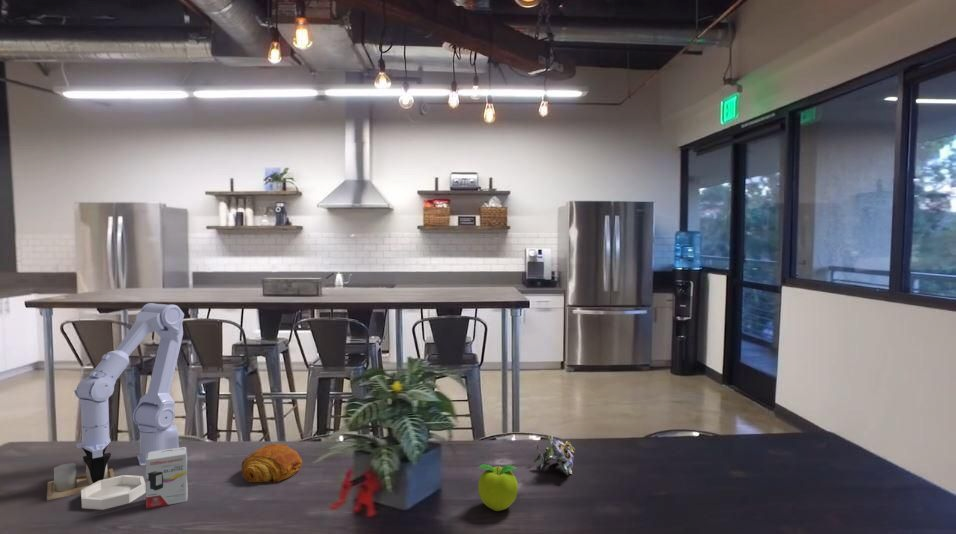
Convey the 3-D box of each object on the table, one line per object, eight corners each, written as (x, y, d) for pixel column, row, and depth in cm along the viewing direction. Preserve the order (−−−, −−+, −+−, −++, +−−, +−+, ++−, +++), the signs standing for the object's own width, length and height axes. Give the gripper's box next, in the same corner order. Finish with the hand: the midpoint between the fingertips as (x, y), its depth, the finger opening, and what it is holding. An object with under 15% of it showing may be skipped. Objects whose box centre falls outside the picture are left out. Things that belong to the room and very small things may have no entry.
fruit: (478, 498, 131) (478, 457, 130) (516, 498, 131) (516, 458, 130) (476, 517, 122) (477, 474, 121) (518, 518, 122) (518, 475, 121)
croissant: (232, 487, 141) (227, 459, 139) (274, 457, 155) (271, 431, 154) (275, 496, 135) (270, 467, 134) (315, 464, 150) (311, 437, 148)
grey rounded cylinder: (107, 475, 141) (106, 455, 141) (108, 481, 138) (107, 461, 137) (86, 480, 138) (85, 459, 138) (86, 486, 135) (86, 465, 135)
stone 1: (76, 482, 137) (75, 461, 137) (77, 488, 134) (76, 467, 133) (54, 487, 134) (53, 466, 134) (54, 493, 131) (53, 472, 131)
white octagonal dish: (141, 481, 139) (141, 471, 139) (147, 499, 129) (147, 489, 129) (80, 494, 131) (80, 484, 131) (82, 516, 121) (82, 504, 121)
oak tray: (112, 471, 144) (112, 468, 144) (115, 486, 136) (115, 482, 136) (47, 485, 136) (47, 481, 136) (46, 502, 128) (46, 497, 128)
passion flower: (568, 493, 145) (577, 469, 138) (528, 483, 146) (535, 459, 139) (571, 457, 154) (579, 432, 146) (533, 448, 155) (540, 423, 147)
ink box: (145, 509, 125) (144, 459, 124) (147, 500, 129) (145, 452, 128) (187, 501, 128) (186, 453, 128) (187, 493, 133) (186, 446, 132)
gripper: (75, 419, 141) (77, 470, 141) (76, 435, 129) (78, 491, 130) (108, 414, 145) (109, 464, 146) (112, 429, 133) (113, 483, 134)
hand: (97, 476), depth 138 cm, fingers open, 7 cm apart
